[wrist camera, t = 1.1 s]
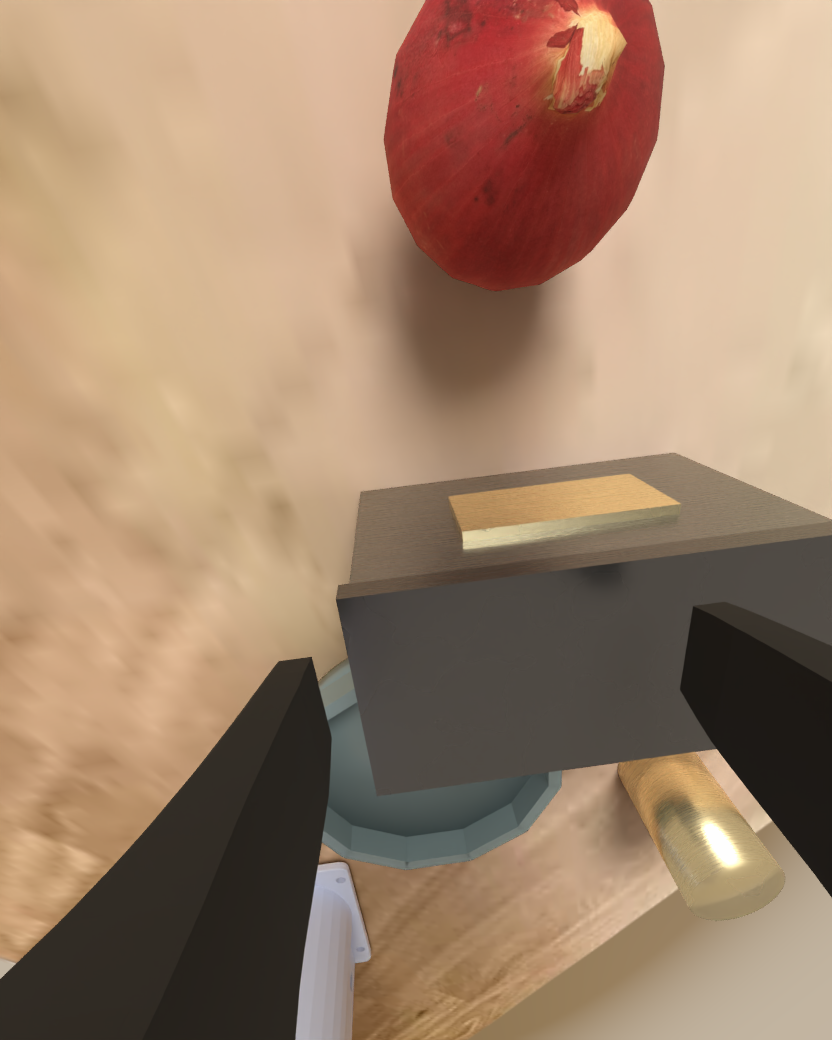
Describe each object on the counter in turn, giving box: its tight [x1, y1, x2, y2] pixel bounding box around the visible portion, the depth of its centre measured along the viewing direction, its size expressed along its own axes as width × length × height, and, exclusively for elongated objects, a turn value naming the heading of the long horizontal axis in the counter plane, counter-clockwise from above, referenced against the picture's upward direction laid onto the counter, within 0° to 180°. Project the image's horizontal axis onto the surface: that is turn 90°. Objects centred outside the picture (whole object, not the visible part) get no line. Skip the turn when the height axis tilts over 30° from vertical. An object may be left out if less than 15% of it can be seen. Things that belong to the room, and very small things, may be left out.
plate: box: [318, 659, 562, 870], centre depth 21 cm, size 12×12×2 cm
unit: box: [336, 453, 832, 796], centre depth 15 cm, size 6×12×8 cm, turn 96°
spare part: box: [618, 752, 785, 921], centre depth 21 cm, size 4×4×6 cm
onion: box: [384, 0, 665, 291], centre depth 10 cm, size 6×6×8 cm
